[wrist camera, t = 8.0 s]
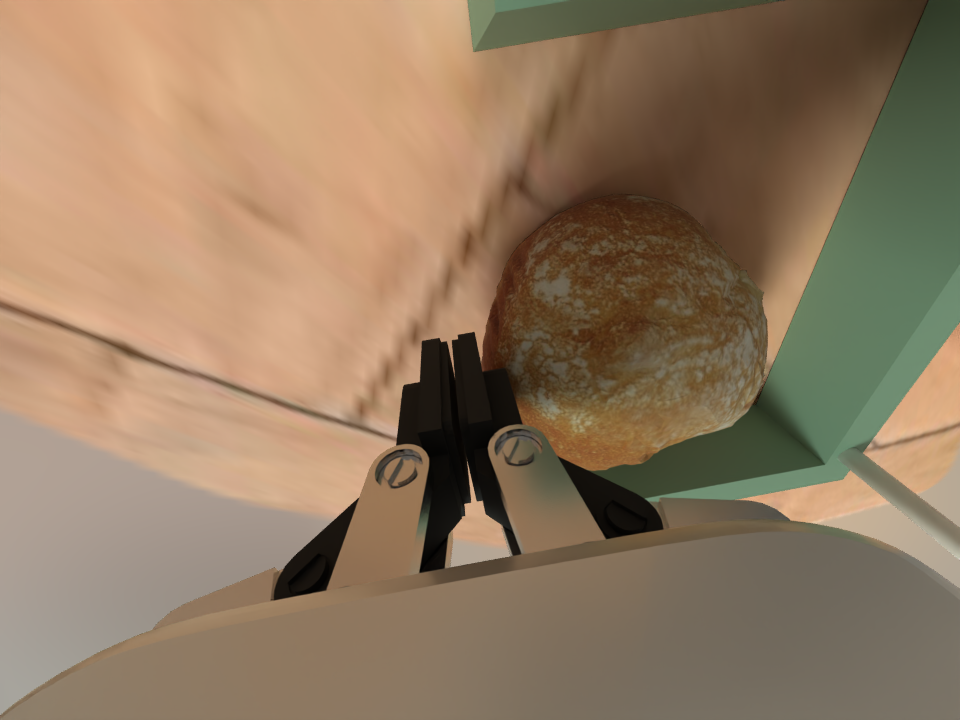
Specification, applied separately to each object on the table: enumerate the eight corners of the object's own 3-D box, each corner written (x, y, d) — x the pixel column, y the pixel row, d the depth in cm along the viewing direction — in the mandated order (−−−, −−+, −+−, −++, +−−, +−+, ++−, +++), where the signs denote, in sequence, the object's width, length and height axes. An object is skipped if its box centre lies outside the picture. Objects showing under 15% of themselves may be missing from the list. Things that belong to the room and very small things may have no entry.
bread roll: (675, 281, 18) (894, 272, 11) (595, 459, 19) (750, 572, 11) (517, 180, 15) (677, 62, 7) (424, 404, 15) (482, 513, 8)
